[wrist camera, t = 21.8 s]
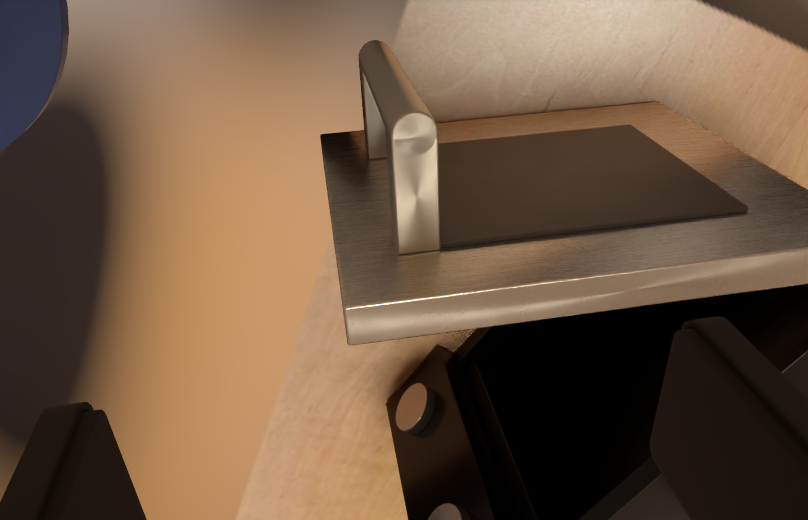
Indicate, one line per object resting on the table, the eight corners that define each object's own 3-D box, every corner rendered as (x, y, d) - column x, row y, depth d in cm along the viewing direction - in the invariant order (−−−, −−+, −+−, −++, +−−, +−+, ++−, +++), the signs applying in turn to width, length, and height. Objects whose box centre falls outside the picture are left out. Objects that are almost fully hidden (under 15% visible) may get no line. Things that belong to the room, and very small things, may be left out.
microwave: (376, 397, 45) (418, 638, 31) (640, 101, 37) (869, 241, 22) (510, 459, 51) (599, 688, 36) (766, 214, 42) (1013, 385, 28)
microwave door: (308, 32, 32) (325, 152, 18) (674, 4, 34) (950, 90, 20) (323, 161, 35) (347, 346, 21) (654, 127, 38) (876, 275, 23)
